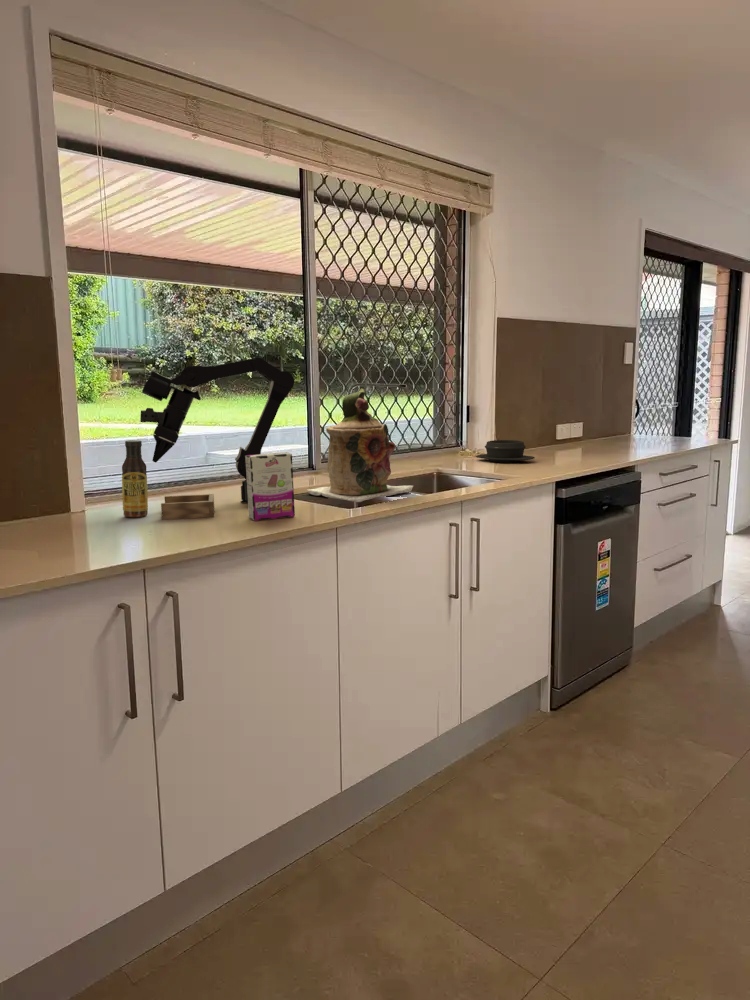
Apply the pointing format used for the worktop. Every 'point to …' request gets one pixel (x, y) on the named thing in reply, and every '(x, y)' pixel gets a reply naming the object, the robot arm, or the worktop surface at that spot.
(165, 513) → the box
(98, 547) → the worktop surface
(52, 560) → the worktop surface
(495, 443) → the casserole
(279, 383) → the robot arm
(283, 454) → the candy bar box
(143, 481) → the sauce bottle
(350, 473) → the cookie jar
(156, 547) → the worktop surface
